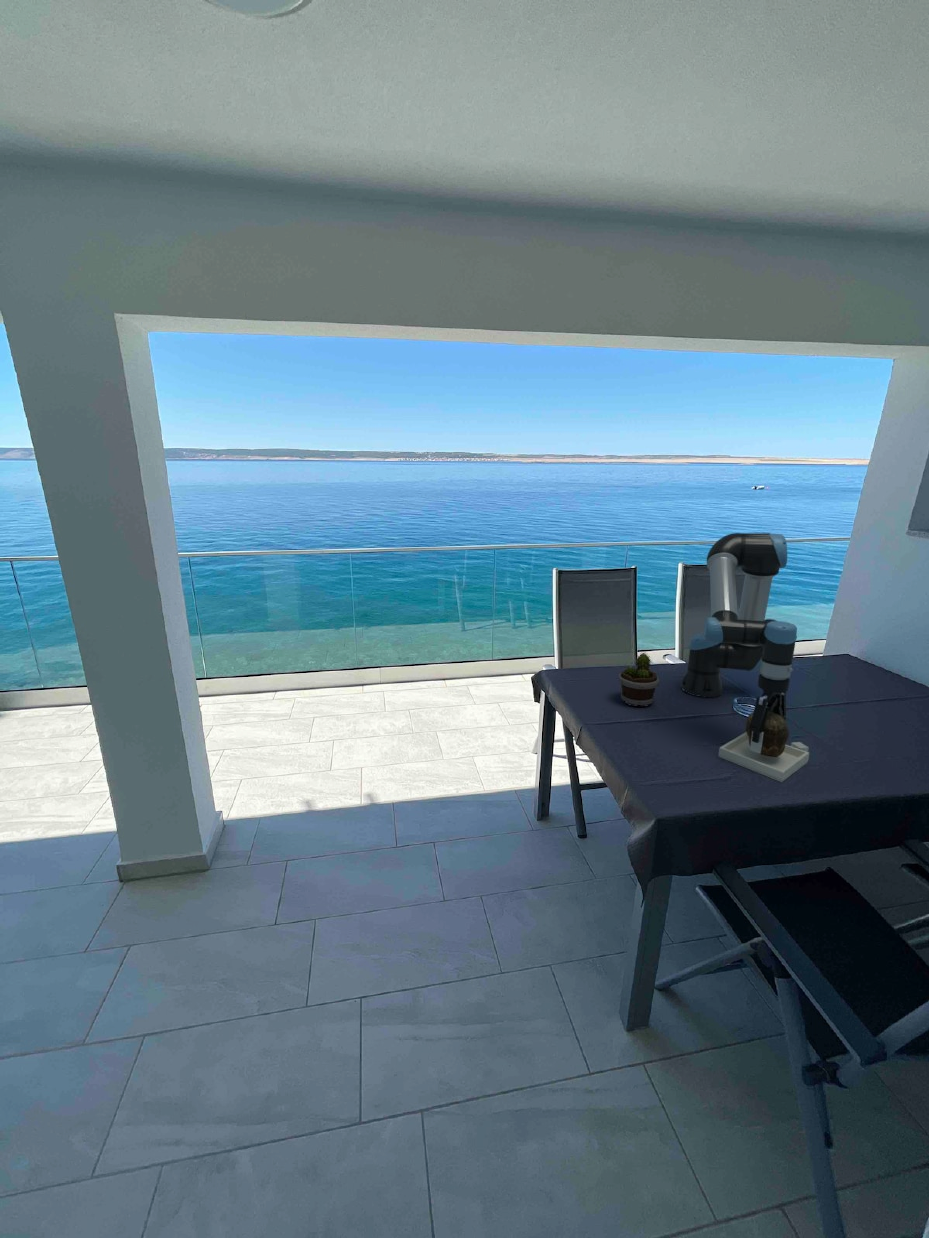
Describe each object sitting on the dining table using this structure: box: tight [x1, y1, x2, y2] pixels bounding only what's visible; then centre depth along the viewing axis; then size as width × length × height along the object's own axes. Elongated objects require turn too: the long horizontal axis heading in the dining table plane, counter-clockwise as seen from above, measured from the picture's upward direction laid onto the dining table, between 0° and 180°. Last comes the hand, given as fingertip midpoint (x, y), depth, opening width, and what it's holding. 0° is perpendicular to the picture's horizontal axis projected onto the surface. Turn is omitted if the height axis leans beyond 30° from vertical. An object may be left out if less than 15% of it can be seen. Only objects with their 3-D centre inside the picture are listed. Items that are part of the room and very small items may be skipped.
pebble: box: [790, 741, 810, 752], centre depth 154 cm, size 4×3×2 cm
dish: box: [717, 731, 810, 783], centre depth 150 cm, size 18×18×3 cm
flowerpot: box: [617, 651, 660, 707], centre depth 190 cm, size 14×15×20 cm
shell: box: [745, 712, 790, 757], centre depth 148 cm, size 11×11×12 cm
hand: (764, 745), depth 149 cm, fingers closed on shell, 11 cm apart
